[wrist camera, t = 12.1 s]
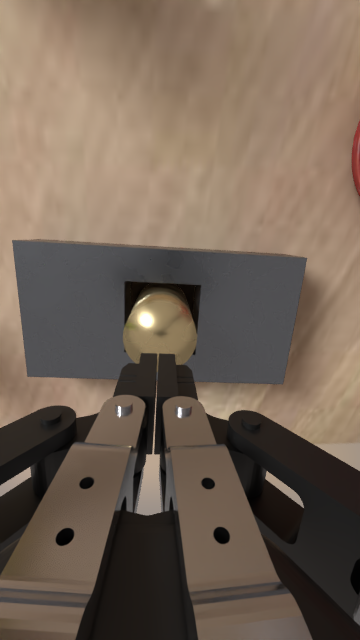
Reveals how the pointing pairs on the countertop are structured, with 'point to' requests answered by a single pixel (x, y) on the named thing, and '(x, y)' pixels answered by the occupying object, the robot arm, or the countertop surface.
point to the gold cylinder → (160, 324)
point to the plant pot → (356, 159)
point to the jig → (115, 307)
